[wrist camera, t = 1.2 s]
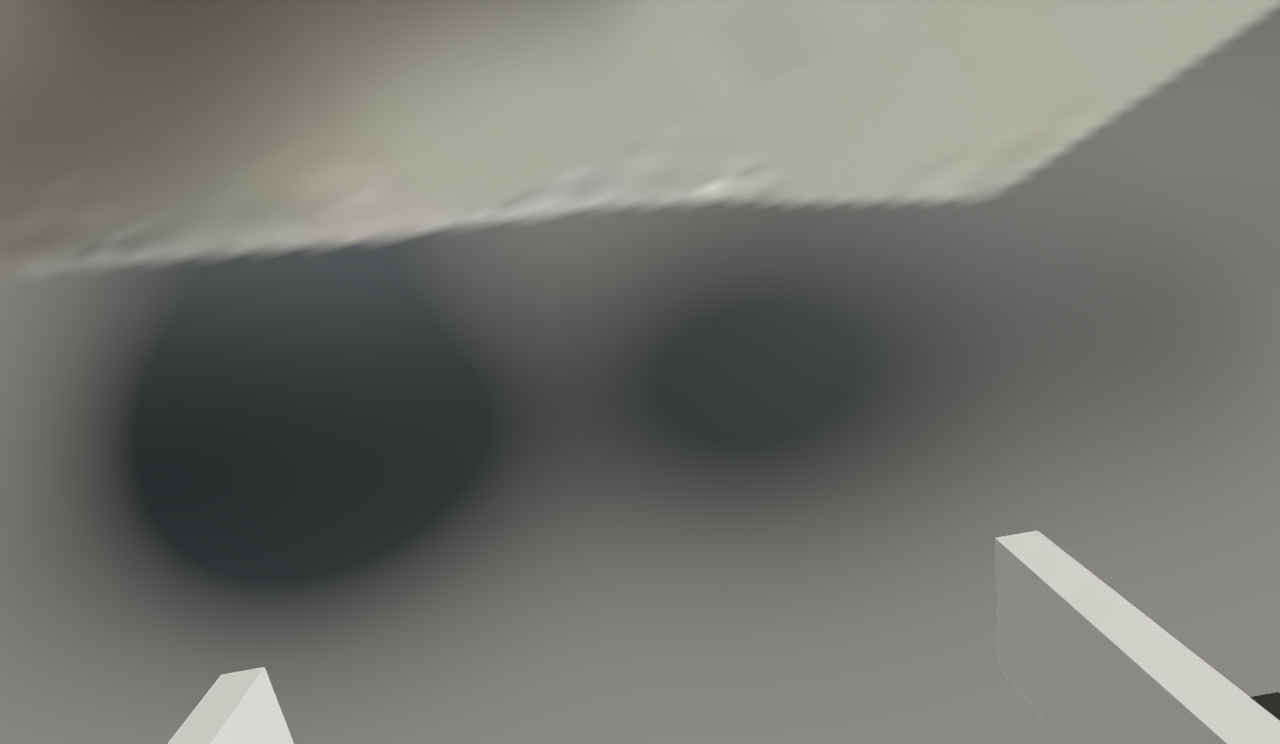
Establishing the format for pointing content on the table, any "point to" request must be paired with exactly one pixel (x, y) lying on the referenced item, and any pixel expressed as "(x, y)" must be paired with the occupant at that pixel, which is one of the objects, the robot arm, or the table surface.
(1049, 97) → the table surface
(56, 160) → the table surface
